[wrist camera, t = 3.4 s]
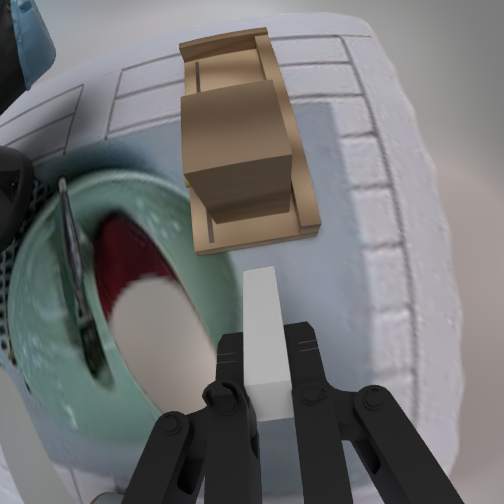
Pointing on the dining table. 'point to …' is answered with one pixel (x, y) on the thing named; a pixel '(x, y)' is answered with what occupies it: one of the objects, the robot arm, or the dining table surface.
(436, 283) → the dining table surface
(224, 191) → the brown wooden block
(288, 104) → the brown wooden tray
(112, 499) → the ceramic mug
